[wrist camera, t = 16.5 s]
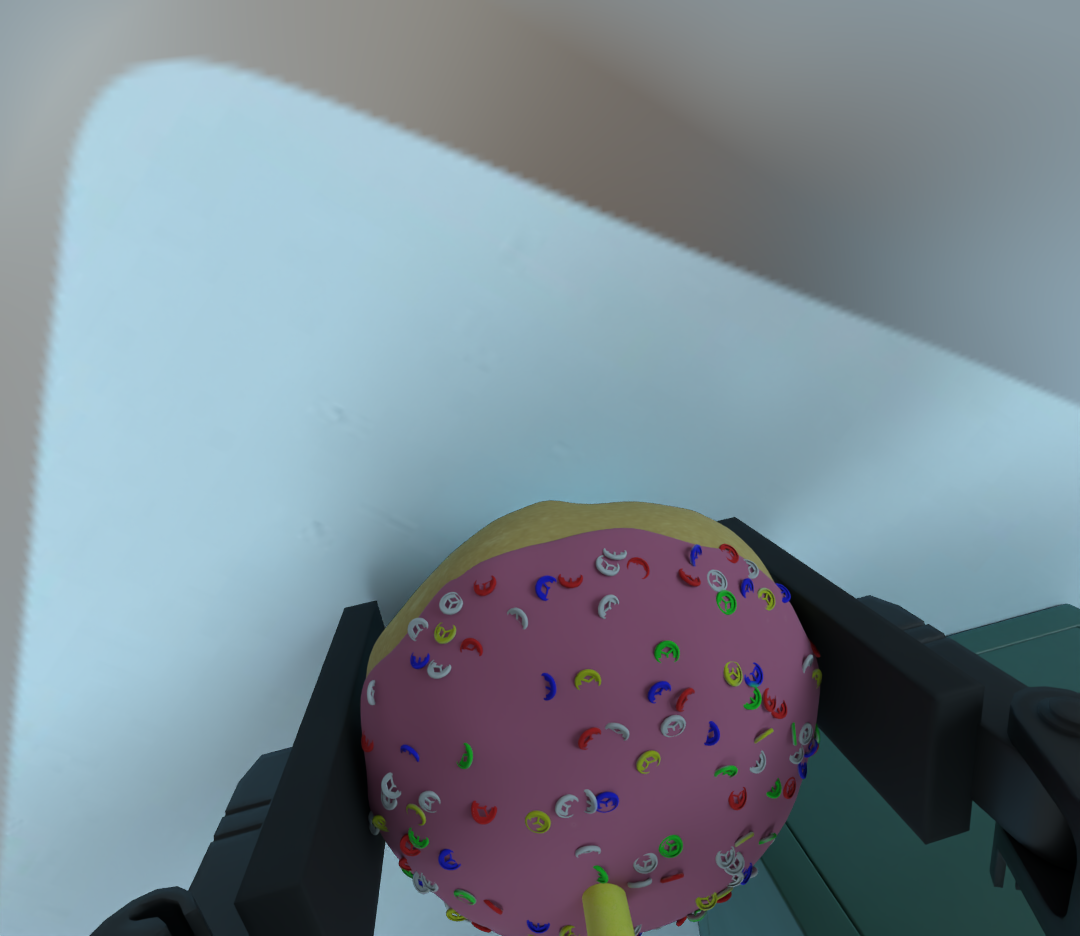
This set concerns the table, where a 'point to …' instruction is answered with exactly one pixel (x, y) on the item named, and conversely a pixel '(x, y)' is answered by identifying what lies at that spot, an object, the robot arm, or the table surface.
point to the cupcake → (589, 721)
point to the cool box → (896, 834)
